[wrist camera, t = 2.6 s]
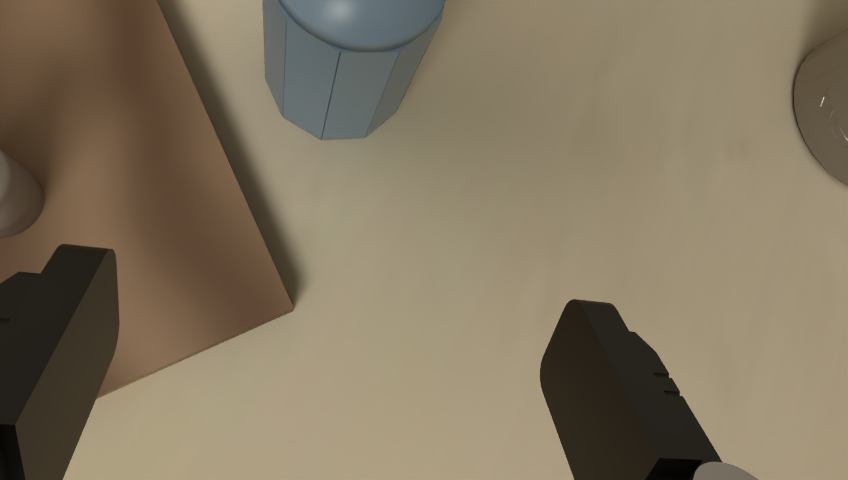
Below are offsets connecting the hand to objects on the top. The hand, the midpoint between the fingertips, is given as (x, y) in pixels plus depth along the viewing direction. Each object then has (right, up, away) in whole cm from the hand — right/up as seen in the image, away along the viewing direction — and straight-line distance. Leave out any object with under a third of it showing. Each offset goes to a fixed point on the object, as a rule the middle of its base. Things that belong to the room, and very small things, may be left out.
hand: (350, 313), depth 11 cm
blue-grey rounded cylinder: (-3, +9, +17) cm, 19 cm away
